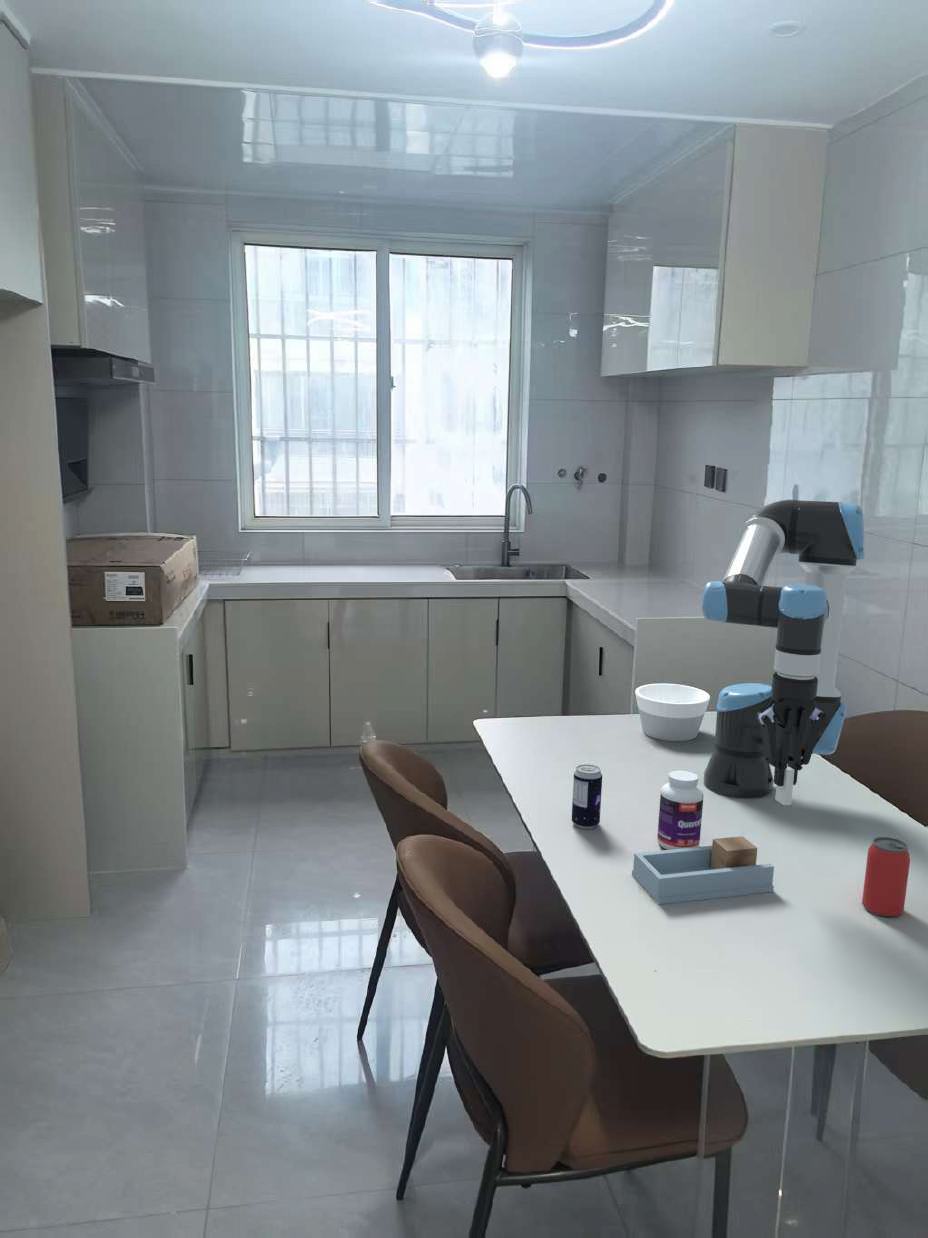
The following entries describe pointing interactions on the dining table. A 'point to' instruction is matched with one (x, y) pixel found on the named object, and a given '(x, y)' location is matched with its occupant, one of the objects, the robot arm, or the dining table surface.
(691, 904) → the dining table surface
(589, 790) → the beverage can
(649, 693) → the bowl
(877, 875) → the beer can
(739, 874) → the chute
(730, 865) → the walnut block
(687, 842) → the pill bottle
